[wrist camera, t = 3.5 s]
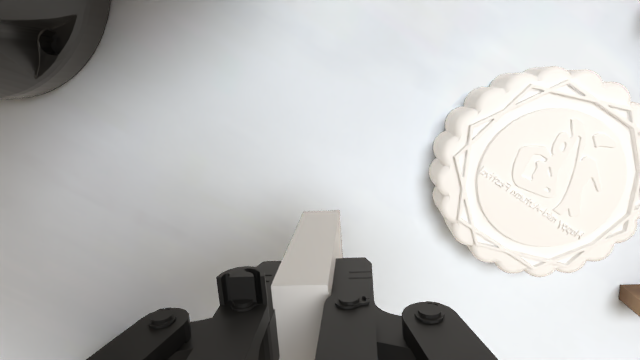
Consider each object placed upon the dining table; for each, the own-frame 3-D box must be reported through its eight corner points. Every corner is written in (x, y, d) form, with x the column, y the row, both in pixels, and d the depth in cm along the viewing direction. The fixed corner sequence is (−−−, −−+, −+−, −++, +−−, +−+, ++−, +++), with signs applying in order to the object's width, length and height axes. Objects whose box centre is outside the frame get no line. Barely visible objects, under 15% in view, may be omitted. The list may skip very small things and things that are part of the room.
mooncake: (674, 140, 25) (724, 150, 22) (539, 290, 28) (565, 320, 25) (510, 26, 25) (536, 17, 21) (390, 191, 27) (395, 208, 24)
